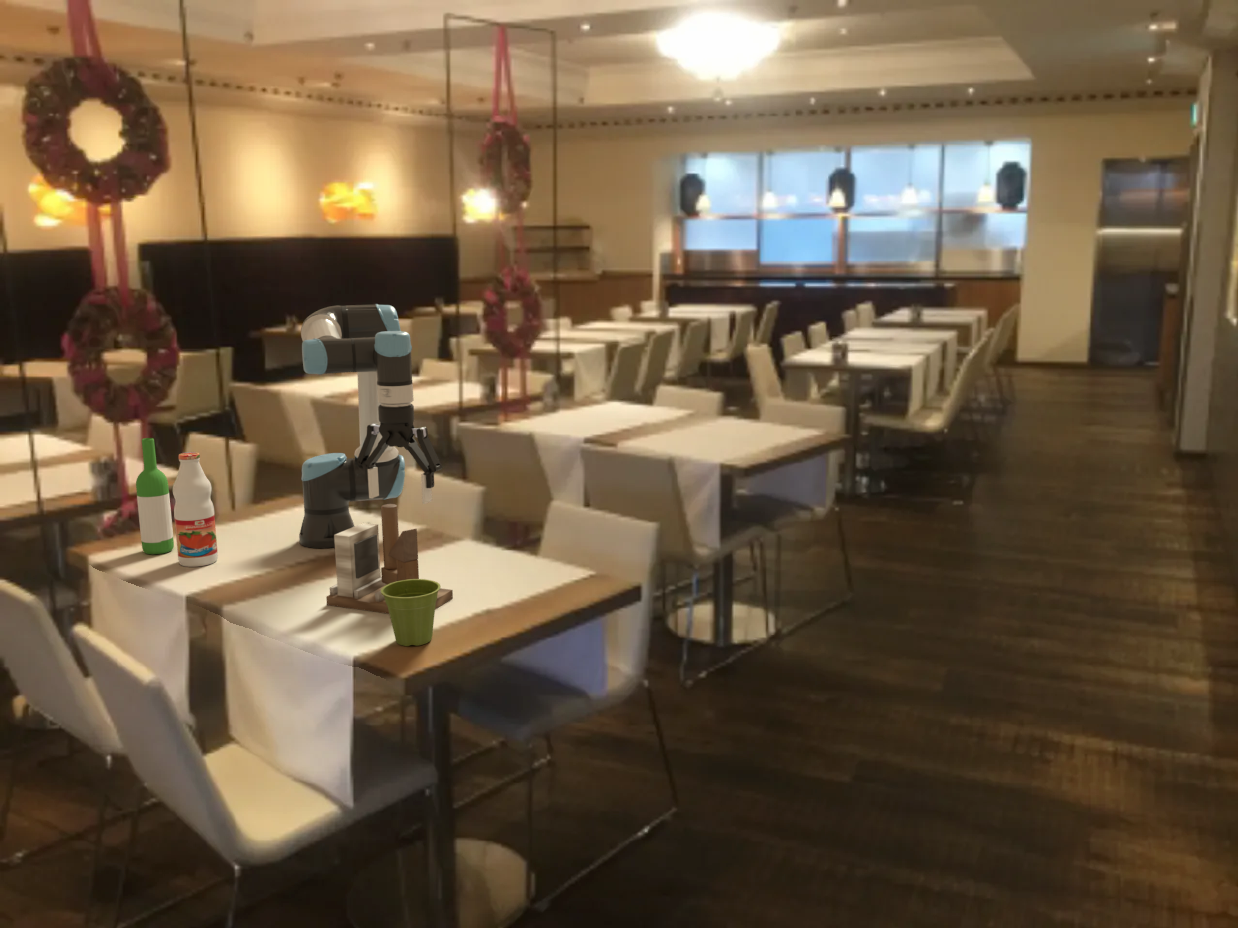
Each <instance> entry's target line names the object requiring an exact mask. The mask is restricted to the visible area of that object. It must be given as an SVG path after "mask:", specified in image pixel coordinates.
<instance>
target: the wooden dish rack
mask: <svg viewBox="0 0 1238 928" xmlns="http://www.w3.org/2000/svg"><path fill="white" fill-rule="evenodd" d="M354 526H355V527H352V528H350V529H347V530H345V531H342V532H340V533H338V534H335V535H334V541H335V547H334V555H335V557H334V558H335V571H336V584H334V585H332V586H329V594H328V595H326V596H325V597H326V605H327V606H331V607H339V608H346V609H353V610H360V611H365V612H374V613H381V614H389V610H388V606H387V604H386V601H385V598H384V595H382V594H381V589H382V588H383V587H384V586H386V585H387V584H385V583H383V582H382V576H381V554H380V552H381V551H380V539H379V538H380V537H379V536H380V535H379V534H380V533H379V524H377V523H376V524H375V523H368V522H363V523H360V524H357V525H354ZM453 595H454V594H453V589H448V588H441V587H440V590H439V591H438V595H437V600H436V605H435V610H436V609H438V608H439V607H441V606H443V605H444V604H446V603H447V602H449V601H451V600H453V598H454V597H453ZM389 615H390V614H389Z"/></svg>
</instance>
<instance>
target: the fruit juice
mask: <svg viewBox="0 0 1238 928" xmlns="http://www.w3.org/2000/svg"><path fill="white" fill-rule="evenodd" d="M200 457H201V456H200V452H196V451H195V452H194V451H190V452H189V451H188V452H182V453H179V454H178V461H179V462H180V464H179V468H178V471H177V475H176V477H175V481H174V482H173V484H172V494H173V497H174V499H175V500H174V501H175V504H174V506H173V507H174V508H173V519H174V526H175V538H176V547H177V548H176V549H177V561H178V563H179V565H180V566H182V567H189V568H194V567H195V568H196V567H202V566H204V567H205V566H208V565H211V564H214V563H216V562H217V561H218V558H219V554H218V541H217V531H216V519H215V507H214V503H213V501H212V500H211V495H212V483H211V482H210V480H209V479H208V478H207V476H206V474H205V472H204V470H203V468H202V465H201V463H200V460H201V458H200Z"/></svg>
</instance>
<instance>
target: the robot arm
mask: <svg viewBox="0 0 1238 928" xmlns="http://www.w3.org/2000/svg"><path fill="white" fill-rule="evenodd" d="M300 337H301V340H302V343H301V353H302V354H301V355H302V364H303V365H302V367H303V371H304V372H305V373H306V374H308V375H323V374H342V373H344V374H345V373H356V374H357V394H358V395H357V397H358V420H359V421H358V424H359V425H358V426H359V427H358V428H359V430H358V431H359V446H358V447H357V448H356V449H355V450H354V457H353V458H348V457H347V456H346V453H343V452H332V453H331V452H329V453H324V454H320V455H316V456H313V457H311V458H308V459H306V460H305V461H303V463H302V465H301V481H302V494H303V495H302V497H303V512H304V515H303V519H302V522H301V526H300V532H299V536H298V539H299V541H298V542H299V544H300V545H301V546H303V547H306V548H311V549H312V548H313V549H328V548H331V549H332V548H335V541H334V535H335V534H338V533H340V532H342V531H345V530H347V529H350V528H352V527H355V526H356V525H355V523H354V522H353V520H354V519H353V518H352V516H351V513H350V505H349V502H362V501H363V502H364V501H376V500H379V501H380V500H383V501H384V500H387V499H388V500H389V499H395V498H396V499H397V498H398V497H399V496H400V495H401V494H402V492H403V489H404V486H405V476H406V472H405V469H406V463H405V462H406V461H405V458H404V456H403V455H401V454H399V453H400V451H399V449H398V448H404V449H405V450H406V451H408V452H409V453H410V455H411V457H412V458H413V459H414V461H416V463H417V464H418V466H419V467H420V469H422V472H423V473H420V476H421V477H420V480H421V481H420V482H421V499H422V500H421V502H422V505H426V504H428V503H431V502H432V501H433V499H432V498H433V495H432V493H433V491H432V489H433V488H434V487H435V472H438V471H440V470H442V469H443V465H442V463H441V460H440V458H439V456H438V454H437V453H436V450H435V448H434V446H433V444H432V442H431V439H430V438H429V434H428V433H429V432H428V427H426V426H422V427H417V428H416V427H415V425H414V422H415V421H414V420H415V408H414V404H413V402H414V385H413V371H412V370H413V369H412V366H413V365H412V350H413V346H412V343H411V335H410V334H409V332H407V331H402V329H401V325H400V320H399V316H398V312H397V310H396V308H395V307H394V306H392V305H390V304H378V303H374V304H355V305H352V304H351V305H350V304H349V305H332V306H327V307H324V308H321V309H318V310H317V311H314V312H313V313H311V314H310V315H309V316H307V317H306V318H305V319H304V321H303V323H302V325H301V328H300ZM415 438H417V440H416V439H415Z"/></svg>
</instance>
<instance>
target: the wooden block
mask: <svg viewBox="0 0 1238 928" xmlns="http://www.w3.org/2000/svg"><path fill="white" fill-rule="evenodd" d="M398 513H399V512H398V504H395V503H387V504H383V505H381V507H380V516H381V517H380V518H381V533H382V551H383V552H382V553H383V566H382V567H380V570H381V577H382V582H383V583H385V584H387V585H388V584H390V583H393V582H396V581H401V580H408V579H420V573H419V570H420V569H419V548H418V546H419V545H418V530H417V529H418V528H412V529H411V528H410V529H407V530H403V531H401V532H400V533H401V534H400V533H399V515H398ZM399 534H400V535H399Z"/></svg>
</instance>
